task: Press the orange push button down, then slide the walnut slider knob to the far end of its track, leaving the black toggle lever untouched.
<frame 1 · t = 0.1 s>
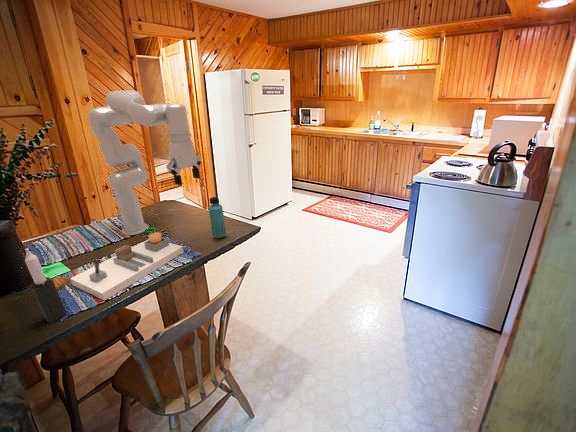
hand: (188, 181, 125), 31 cm above the table, tool pointing down, fingers open, 9 cm apart
toggle lever: (97, 264, 109), point 10 cm above the table, hinge at 25.0°
push button: (155, 239, 132), point 7 cm above the table, slide at 0.0 cm
slider knob: (124, 253, 123), point 6 cm above the table, slide at 0.0 cm
beverage bottle: (219, 237, 146), on the table
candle: (56, 316, 99), on the table
pastry: (54, 288, 114), on the table
control panel: (132, 267, 124), on the table
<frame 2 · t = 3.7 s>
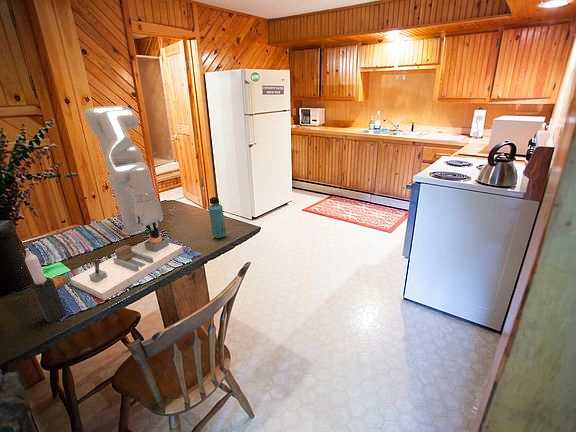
hand: (155, 237, 131), 8 cm above the table, tool pointing down, fingers closed
push button: (156, 241, 132), point 6 cm above the table, slide at 0.9 cm, touching gripper
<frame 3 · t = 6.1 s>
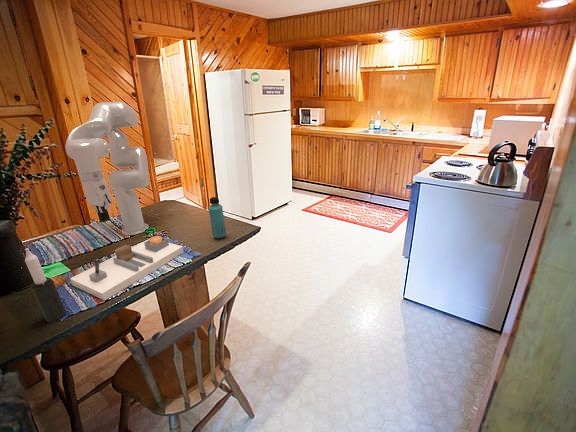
hand: (105, 220, 121), 19 cm above the table, tool pointing down, fingers closed
push button: (156, 242, 133), point 5 cm above the table, slide at 1.6 cm
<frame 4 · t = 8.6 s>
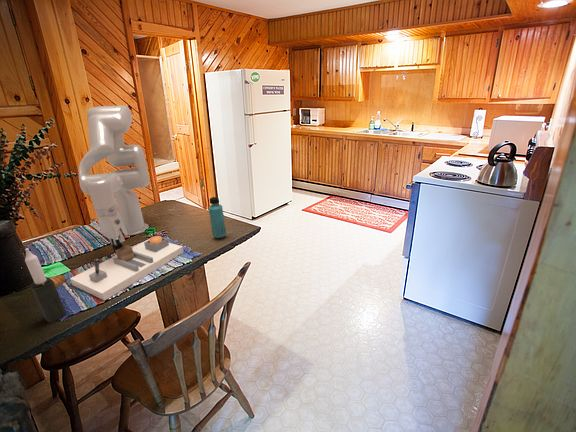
hand: (119, 252, 125), 6 cm above the table, tool pointing down, fingers closed
slider knob: (125, 253, 123), point 6 cm above the table, slide at 0.5 cm, touching gripper
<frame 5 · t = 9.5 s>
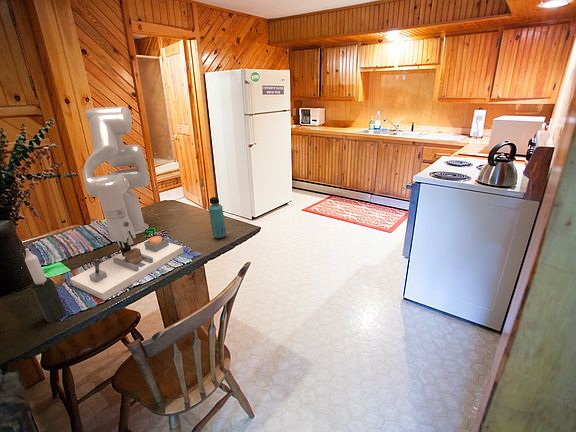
hand: (127, 255, 122), 6 cm above the table, tool pointing down, fingers closed
slider knob: (133, 256, 121), point 6 cm above the table, slide at 5.8 cm, touching gripper
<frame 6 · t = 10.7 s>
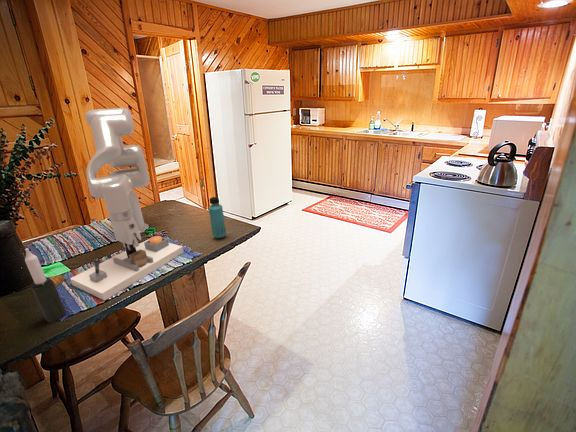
hand: (132, 256, 121), 6 cm above the table, tool pointing down, fingers closed
slider knob: (138, 258, 119), point 6 cm above the table, slide at 9.0 cm, touching gripper
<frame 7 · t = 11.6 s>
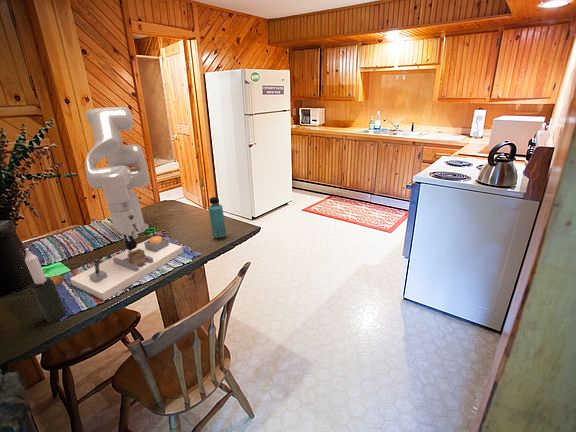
hand: (132, 248, 120), 9 cm above the table, tool pointing down, fingers closed
slider knob: (137, 258, 120), point 6 cm above the table, slide at 8.1 cm
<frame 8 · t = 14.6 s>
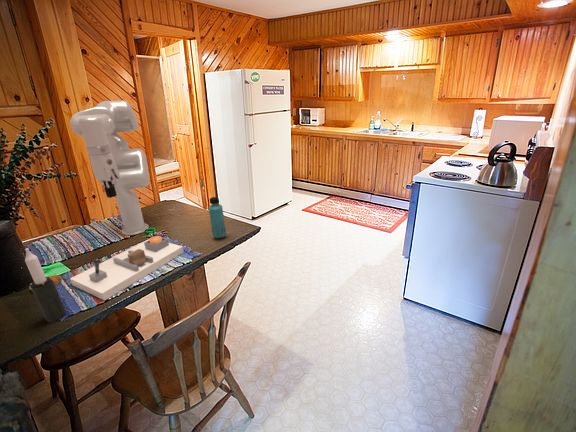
hand: (112, 196, 124), 27 cm above the table, tool pointing down, fingers closed
at the end: push button slide at 1.6 cm; slider knob slide at 8.1 cm; toggle lever at +25° (first picture: +25°) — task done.
